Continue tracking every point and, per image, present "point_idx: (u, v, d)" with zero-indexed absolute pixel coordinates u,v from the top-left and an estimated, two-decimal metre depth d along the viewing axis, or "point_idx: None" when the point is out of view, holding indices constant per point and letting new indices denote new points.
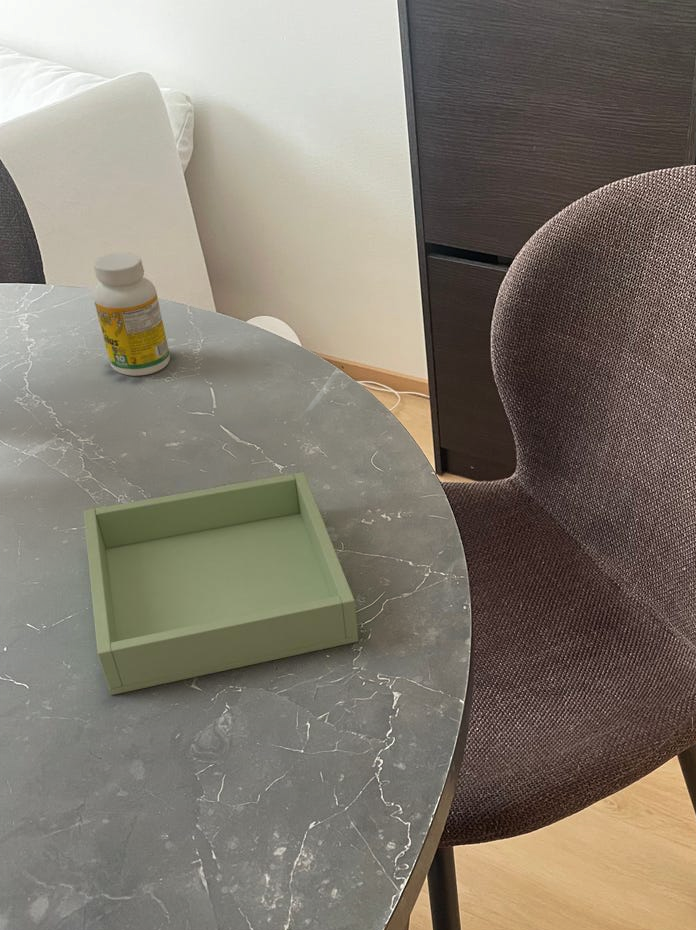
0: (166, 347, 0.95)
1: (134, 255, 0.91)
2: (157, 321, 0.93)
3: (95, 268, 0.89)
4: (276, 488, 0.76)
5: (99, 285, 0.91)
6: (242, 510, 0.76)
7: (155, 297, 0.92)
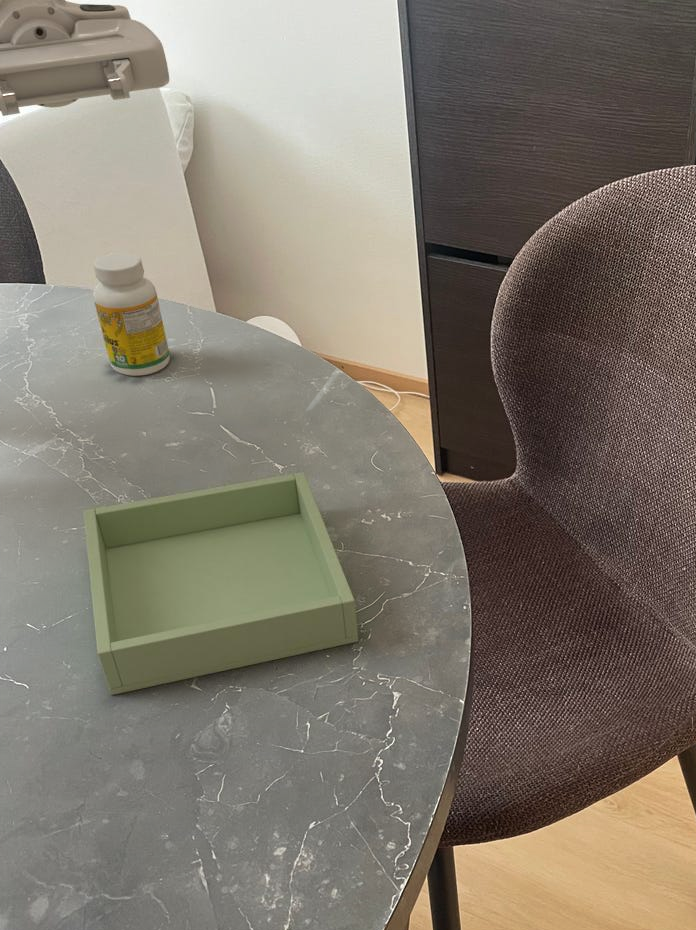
0: (166, 347, 0.95)
1: (134, 255, 0.91)
2: (157, 321, 0.93)
3: (95, 268, 0.89)
4: (276, 488, 0.76)
5: (99, 285, 0.91)
6: (242, 510, 0.76)
7: (155, 297, 0.92)
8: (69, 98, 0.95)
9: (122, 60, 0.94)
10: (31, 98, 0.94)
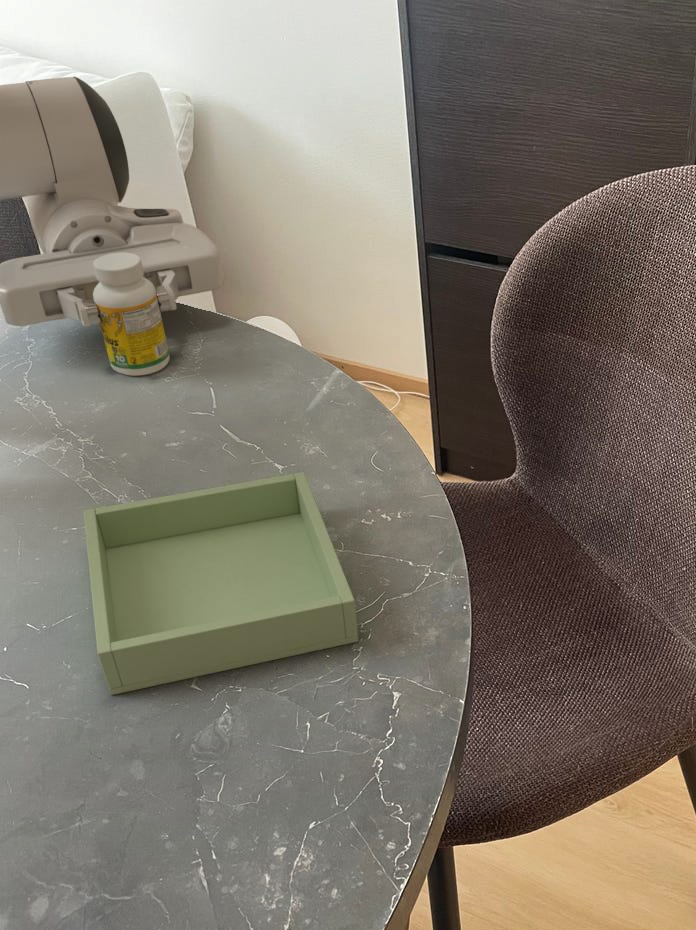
0: (166, 347, 0.95)
1: (134, 255, 0.91)
2: (157, 321, 0.93)
3: (95, 268, 0.89)
4: (276, 488, 0.76)
5: (99, 285, 0.91)
6: (242, 510, 0.76)
7: (155, 297, 0.92)
8: None
9: (167, 271, 0.96)
10: None
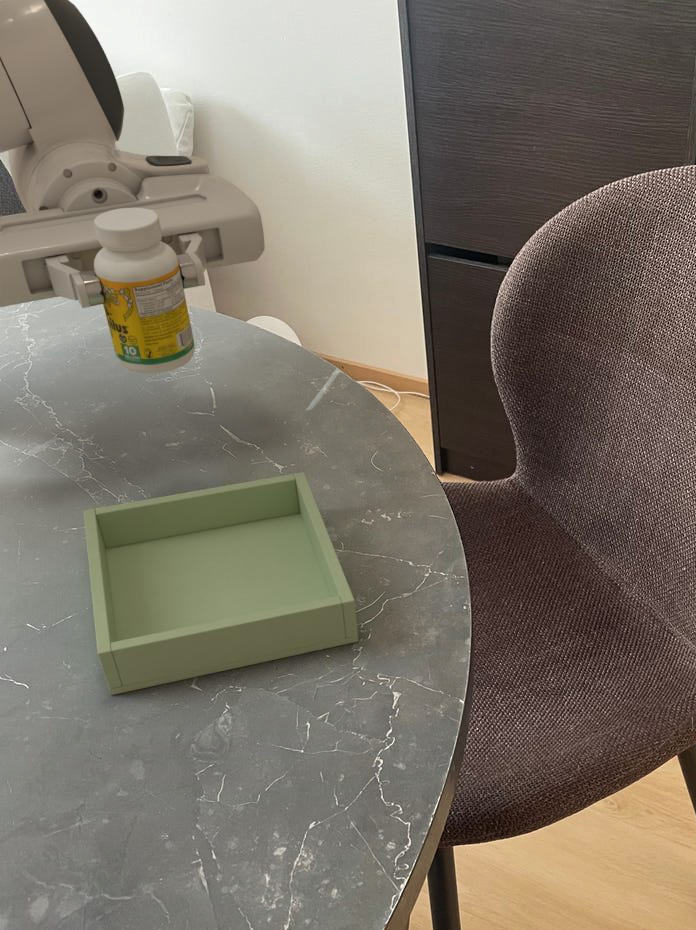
0: (191, 335, 0.72)
1: (149, 211, 0.67)
2: (179, 301, 0.69)
3: (97, 228, 0.66)
4: (276, 488, 0.76)
5: (102, 251, 0.67)
6: (242, 510, 0.76)
7: (177, 268, 0.68)
8: None
9: (191, 235, 0.72)
10: None
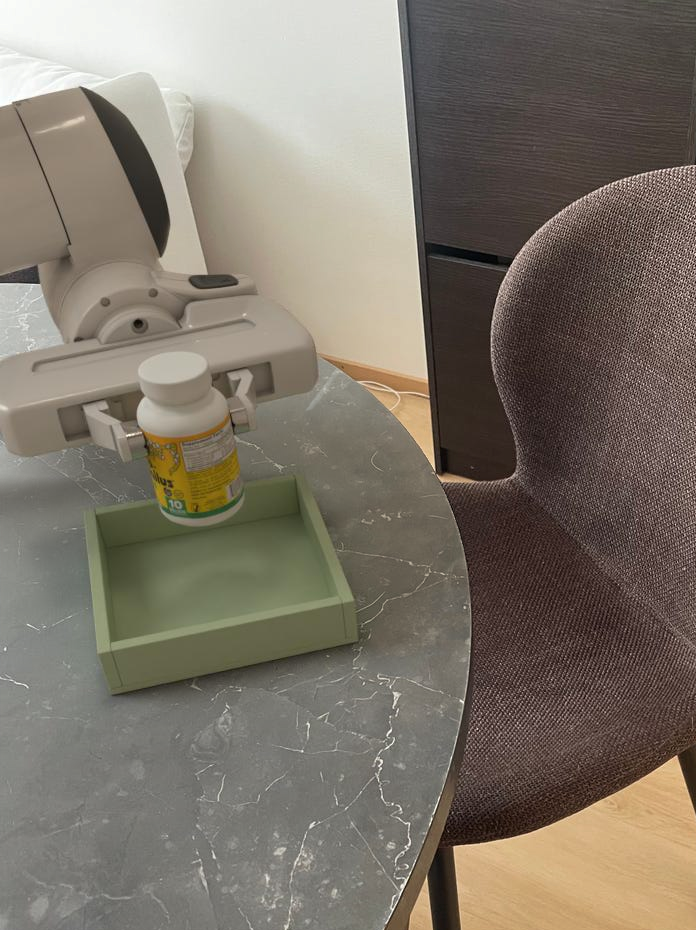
0: (241, 483, 0.65)
1: (197, 356, 0.61)
2: (229, 450, 0.63)
3: (141, 379, 0.59)
4: (276, 488, 0.76)
5: (146, 401, 0.61)
6: (242, 510, 0.76)
7: (228, 416, 0.62)
8: None
9: (241, 372, 0.66)
10: None
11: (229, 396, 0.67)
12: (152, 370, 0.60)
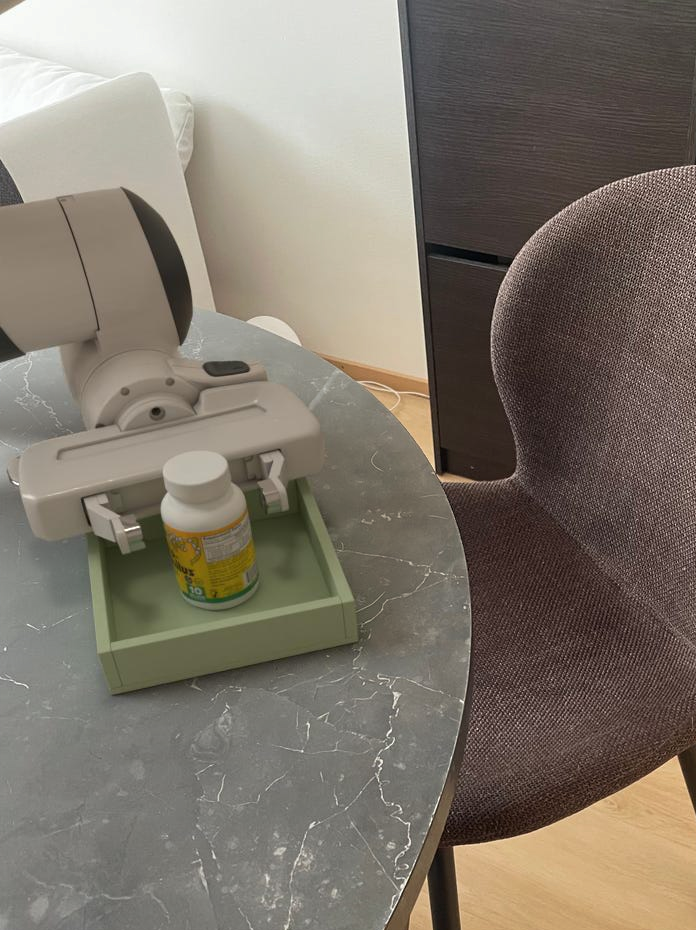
0: (256, 569, 0.70)
1: (218, 456, 0.66)
2: (246, 541, 0.67)
3: (165, 479, 0.64)
4: None
5: (169, 497, 0.66)
6: None
7: (245, 511, 0.67)
8: None
9: (272, 454, 0.71)
10: (151, 509, 0.69)
11: (261, 475, 0.72)
12: (176, 470, 0.64)
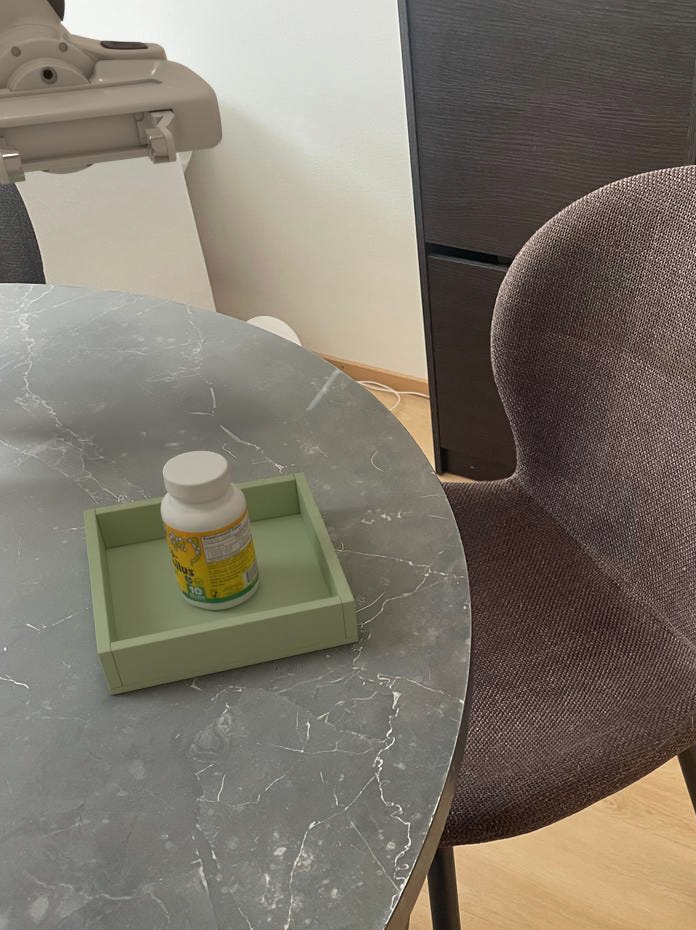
0: (256, 569, 0.70)
1: (218, 456, 0.66)
2: (246, 541, 0.67)
3: (165, 479, 0.64)
4: (276, 488, 0.76)
5: (169, 497, 0.66)
6: None
7: (245, 511, 0.67)
8: (90, 161, 0.70)
9: (164, 112, 0.70)
10: (38, 161, 0.68)
11: None
12: (176, 470, 0.64)
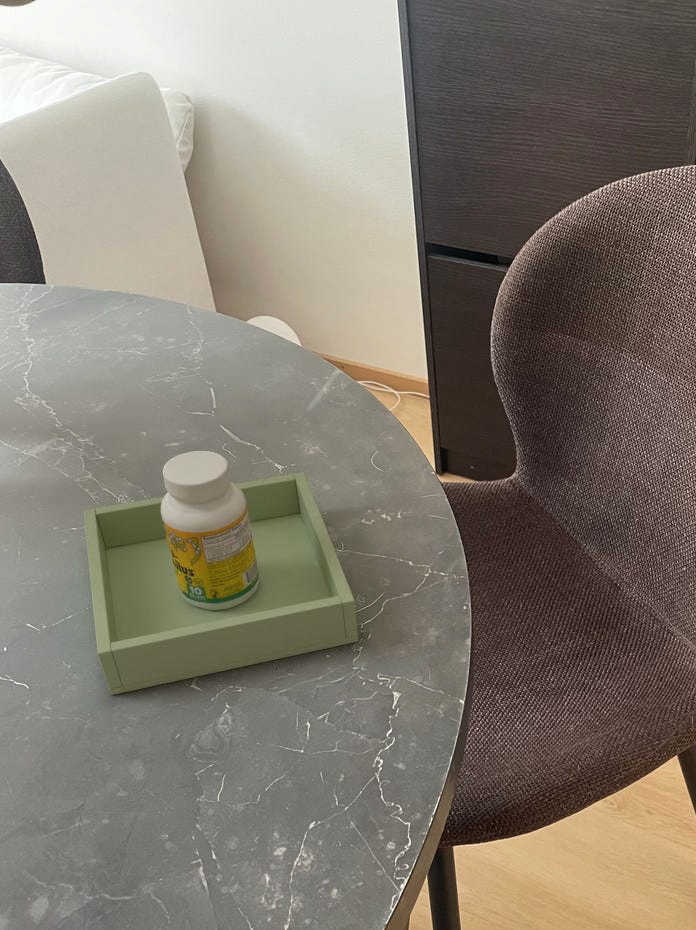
0: (256, 569, 0.70)
1: (218, 456, 0.66)
2: (246, 541, 0.67)
3: (165, 479, 0.64)
4: (276, 488, 0.76)
5: (169, 497, 0.66)
6: None
7: (245, 511, 0.67)
8: None
9: None
10: None
11: None
12: (176, 470, 0.64)
